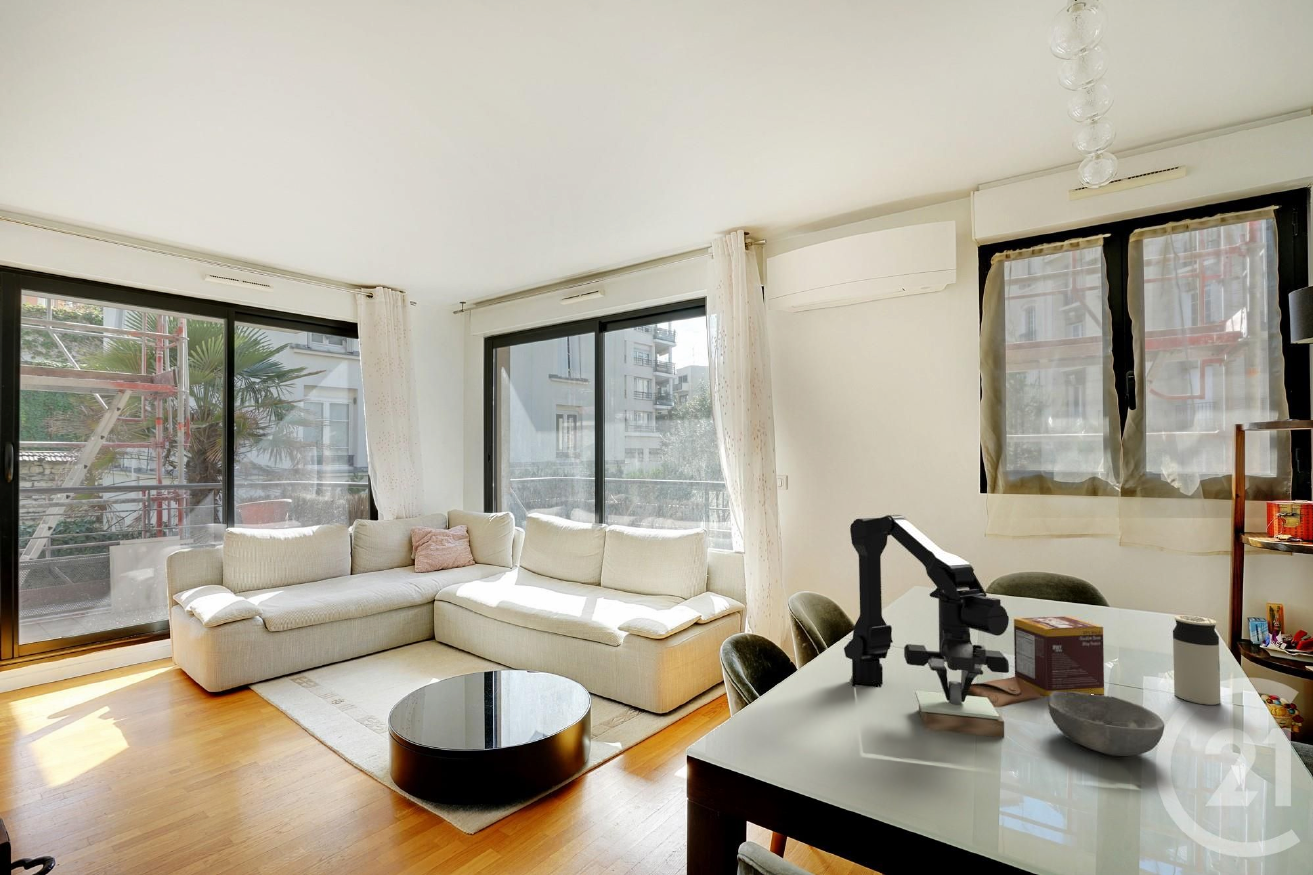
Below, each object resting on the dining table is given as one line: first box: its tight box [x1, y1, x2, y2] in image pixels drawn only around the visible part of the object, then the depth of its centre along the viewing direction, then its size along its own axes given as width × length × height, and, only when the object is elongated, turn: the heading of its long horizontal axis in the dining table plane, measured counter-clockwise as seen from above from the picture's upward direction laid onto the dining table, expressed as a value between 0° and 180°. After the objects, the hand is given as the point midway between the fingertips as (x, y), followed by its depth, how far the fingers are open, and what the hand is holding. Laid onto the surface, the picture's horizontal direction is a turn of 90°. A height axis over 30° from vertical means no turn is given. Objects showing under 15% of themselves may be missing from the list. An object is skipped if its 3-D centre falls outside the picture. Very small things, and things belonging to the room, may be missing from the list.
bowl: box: [1047, 691, 1165, 757], centre depth 118 cm, size 18×18×8 cm
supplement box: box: [1013, 615, 1105, 698], centre depth 150 cm, size 10×15×16 cm
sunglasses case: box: [967, 675, 1045, 708], centre depth 143 cm, size 18×7×7 cm
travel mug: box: [1172, 614, 1222, 706], centre depth 143 cm, size 8×8×18 cm
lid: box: [914, 680, 1001, 719], centre depth 128 cm, size 14×10×5 cm
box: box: [918, 703, 1005, 738], centre depth 128 cm, size 14×10×4 cm
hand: (955, 700), depth 128 cm, fingers closed on lid, 2 cm apart
